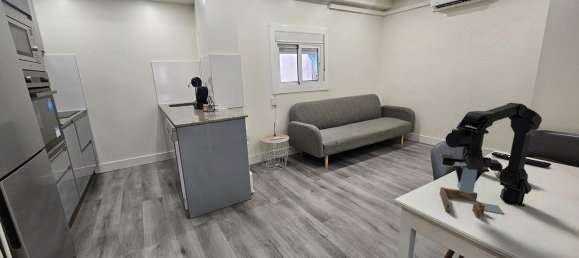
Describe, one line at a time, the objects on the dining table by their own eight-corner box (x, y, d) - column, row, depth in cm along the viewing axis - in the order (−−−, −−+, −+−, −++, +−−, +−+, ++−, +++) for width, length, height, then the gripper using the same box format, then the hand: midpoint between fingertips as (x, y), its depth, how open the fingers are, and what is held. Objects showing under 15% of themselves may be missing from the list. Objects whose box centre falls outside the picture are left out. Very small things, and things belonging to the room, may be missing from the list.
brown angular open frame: (475, 199, 106) (476, 192, 105) (487, 219, 92) (488, 211, 91) (439, 193, 112) (440, 187, 111) (445, 211, 98) (446, 204, 97)
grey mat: (497, 206, 101) (498, 205, 101) (504, 214, 95) (504, 213, 95) (479, 202, 104) (479, 202, 104) (483, 210, 98) (484, 210, 98)
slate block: (470, 187, 97) (474, 164, 94) (473, 193, 93) (477, 169, 90) (457, 186, 98) (460, 163, 96) (459, 191, 94) (463, 167, 92)
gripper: (447, 148, 88) (442, 187, 91) (513, 154, 80) (504, 196, 84) (442, 140, 97) (437, 175, 101) (500, 145, 90) (492, 183, 94)
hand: (466, 182), depth 95 cm, fingers closed on slate block, 4 cm apart
